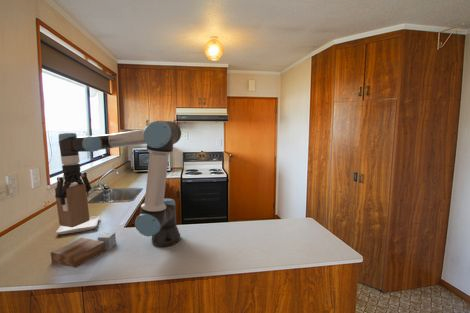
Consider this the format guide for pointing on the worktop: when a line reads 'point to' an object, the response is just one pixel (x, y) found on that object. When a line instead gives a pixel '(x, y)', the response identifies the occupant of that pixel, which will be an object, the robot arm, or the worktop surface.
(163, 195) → the robot arm
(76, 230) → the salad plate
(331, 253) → the worktop surface
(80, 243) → the plinth
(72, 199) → the block
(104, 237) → the slate cube
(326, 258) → the worktop surface
